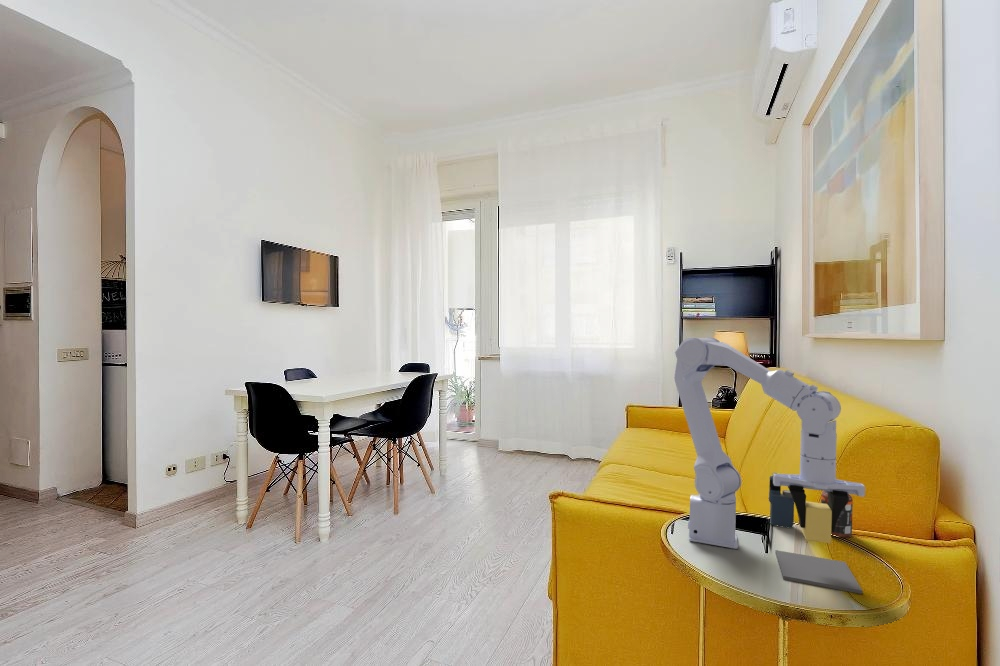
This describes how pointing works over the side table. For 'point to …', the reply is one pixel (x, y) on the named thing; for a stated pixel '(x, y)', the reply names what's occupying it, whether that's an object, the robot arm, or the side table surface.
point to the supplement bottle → (842, 517)
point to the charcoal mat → (817, 571)
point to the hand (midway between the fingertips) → (816, 528)
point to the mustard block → (817, 522)
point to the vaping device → (780, 506)
